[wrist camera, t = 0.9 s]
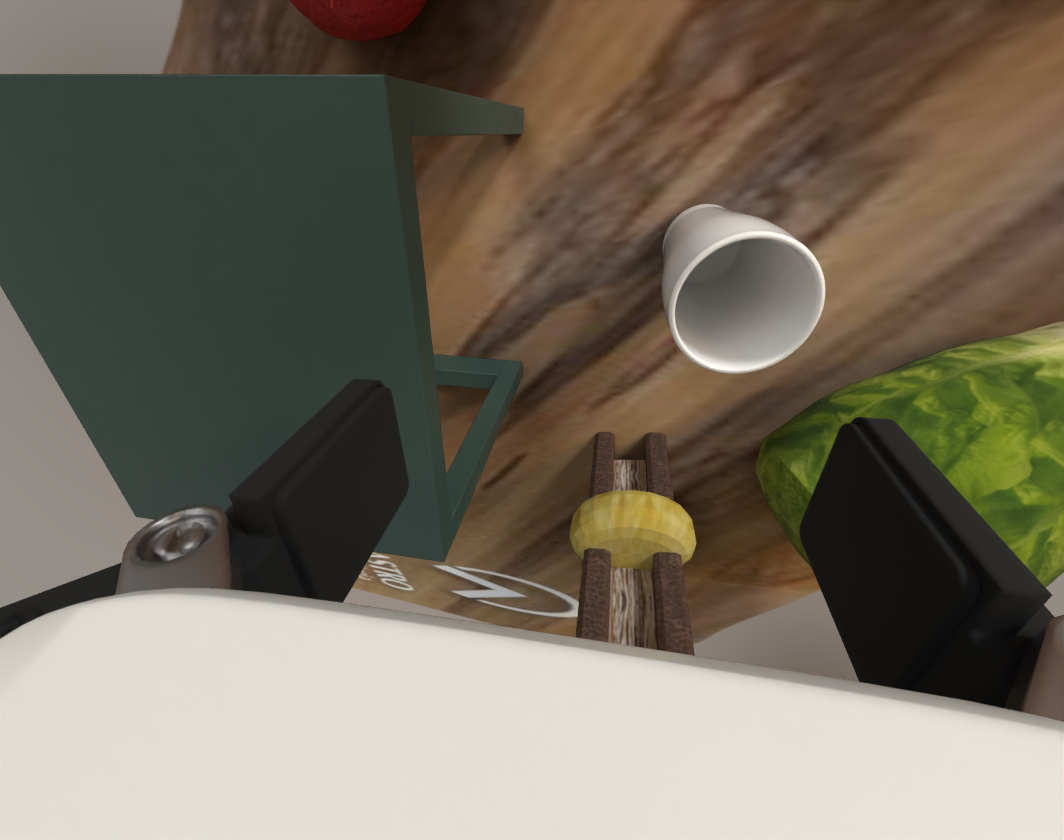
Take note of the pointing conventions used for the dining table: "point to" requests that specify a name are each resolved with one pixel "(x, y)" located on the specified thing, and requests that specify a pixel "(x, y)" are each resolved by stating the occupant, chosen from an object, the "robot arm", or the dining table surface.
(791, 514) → the lettuce
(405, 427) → the bench
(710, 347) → the white paper cup
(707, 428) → the dining table surface
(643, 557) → the book
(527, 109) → the dining table surface
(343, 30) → the pomegranate
